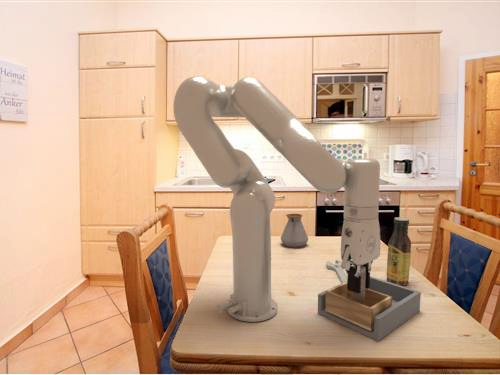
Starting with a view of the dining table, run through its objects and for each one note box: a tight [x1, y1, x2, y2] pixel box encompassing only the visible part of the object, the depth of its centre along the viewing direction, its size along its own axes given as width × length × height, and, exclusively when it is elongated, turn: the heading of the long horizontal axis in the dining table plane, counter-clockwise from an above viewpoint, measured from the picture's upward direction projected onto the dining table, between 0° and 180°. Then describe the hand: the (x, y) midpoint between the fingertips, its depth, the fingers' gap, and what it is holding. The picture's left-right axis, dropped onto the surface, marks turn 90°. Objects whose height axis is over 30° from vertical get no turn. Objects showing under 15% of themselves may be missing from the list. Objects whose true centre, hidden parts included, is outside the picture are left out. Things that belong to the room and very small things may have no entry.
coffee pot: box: [280, 213, 309, 249], centre depth 135 cm, size 21×12×15 cm, turn 168°
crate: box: [325, 265, 392, 331], centre depth 79 cm, size 9×12×12 cm
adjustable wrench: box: [325, 259, 348, 284], centre depth 106 cm, size 25×6×2 cm, turn 173°
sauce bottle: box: [386, 216, 412, 286], centre depth 100 cm, size 7×6×20 cm
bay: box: [317, 275, 422, 342], centre depth 83 cm, size 20×16×5 cm
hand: (358, 288), depth 79 cm, fingers closed on crate, 3 cm apart
